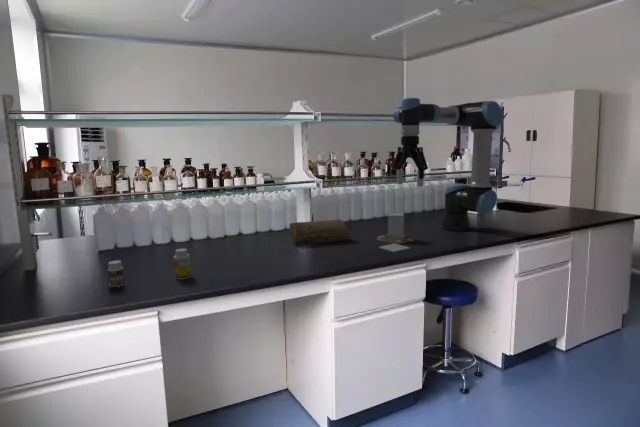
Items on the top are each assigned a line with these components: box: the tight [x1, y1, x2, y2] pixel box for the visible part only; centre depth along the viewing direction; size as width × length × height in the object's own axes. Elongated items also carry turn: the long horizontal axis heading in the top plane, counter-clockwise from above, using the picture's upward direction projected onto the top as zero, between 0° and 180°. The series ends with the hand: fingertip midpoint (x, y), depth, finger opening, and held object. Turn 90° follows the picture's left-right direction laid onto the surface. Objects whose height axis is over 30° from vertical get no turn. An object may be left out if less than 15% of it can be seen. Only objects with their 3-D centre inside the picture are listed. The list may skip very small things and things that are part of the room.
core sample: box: [288, 219, 350, 247], centre depth 202 cm, size 14×26×10 cm, turn 110°
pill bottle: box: [107, 259, 125, 288], centre depth 144 cm, size 5×5×8 cm
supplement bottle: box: [173, 248, 192, 280], centre depth 152 cm, size 6×6×10 cm
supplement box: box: [387, 212, 405, 241], centre depth 202 cm, size 7×7×13 cm
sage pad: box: [378, 243, 411, 253], centre depth 188 cm, size 10×10×1 cm
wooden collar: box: [376, 234, 416, 245], centre depth 203 cm, size 13×13×2 cm
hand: (409, 185), depth 185 cm, fingers open, 13 cm apart
